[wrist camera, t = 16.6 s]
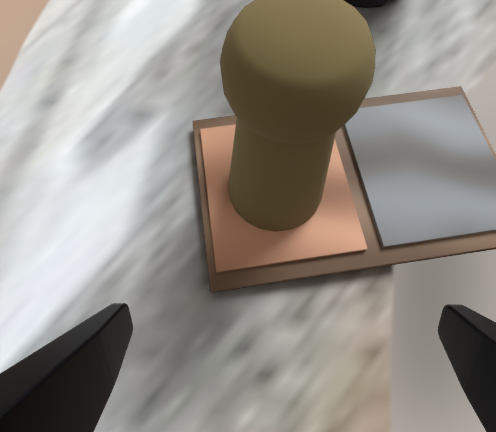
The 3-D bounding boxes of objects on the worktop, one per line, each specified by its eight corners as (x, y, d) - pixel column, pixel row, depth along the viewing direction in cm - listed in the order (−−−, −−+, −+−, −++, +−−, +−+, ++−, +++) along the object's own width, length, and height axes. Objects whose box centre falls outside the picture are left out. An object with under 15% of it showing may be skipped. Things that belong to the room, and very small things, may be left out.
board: (528, 243, 19) (544, 239, 18) (211, 292, 18) (209, 290, 17) (453, 94, 23) (463, 83, 22) (194, 127, 22) (191, 118, 21)
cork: (303, 136, 20) (356, -59, 10) (337, 216, 18) (448, 73, 8) (217, 159, 20) (181, -24, 10) (242, 243, 18) (231, 127, 7)
